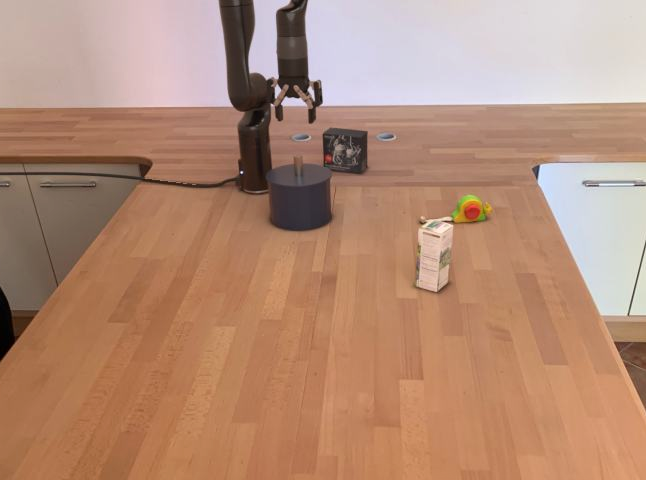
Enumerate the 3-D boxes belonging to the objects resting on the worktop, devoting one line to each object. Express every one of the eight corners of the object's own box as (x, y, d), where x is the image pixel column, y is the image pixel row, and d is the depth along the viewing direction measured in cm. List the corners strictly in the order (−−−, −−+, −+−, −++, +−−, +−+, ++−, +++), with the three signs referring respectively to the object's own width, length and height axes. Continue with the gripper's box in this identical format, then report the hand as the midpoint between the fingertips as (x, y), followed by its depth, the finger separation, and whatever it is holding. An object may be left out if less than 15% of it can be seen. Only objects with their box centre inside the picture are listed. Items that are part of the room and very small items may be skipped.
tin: (261, 227, 191) (257, 184, 184) (285, 204, 204) (282, 163, 198) (318, 233, 186) (316, 190, 180) (339, 210, 199) (338, 168, 193)
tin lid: (255, 186, 185) (253, 163, 181) (281, 165, 198) (280, 143, 195) (318, 193, 179) (317, 169, 176) (340, 170, 193) (340, 148, 190)
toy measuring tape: (494, 222, 189) (496, 199, 185) (422, 227, 188) (423, 203, 184) (488, 213, 194) (490, 190, 191) (417, 217, 193) (418, 194, 190)
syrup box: (426, 276, 164) (429, 218, 156) (449, 283, 161) (453, 223, 153) (414, 286, 160) (417, 227, 152) (437, 293, 157) (441, 233, 149)
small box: (322, 170, 228) (321, 132, 221) (330, 163, 233) (329, 127, 227) (361, 174, 224) (360, 136, 217) (368, 167, 229) (368, 130, 222)
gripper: (325, 52, 173) (326, 119, 182) (271, 50, 177) (275, 116, 186) (314, 59, 167) (316, 128, 176) (259, 56, 171) (264, 123, 180)
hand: (295, 121), depth 181 cm, fingers open, 8 cm apart
